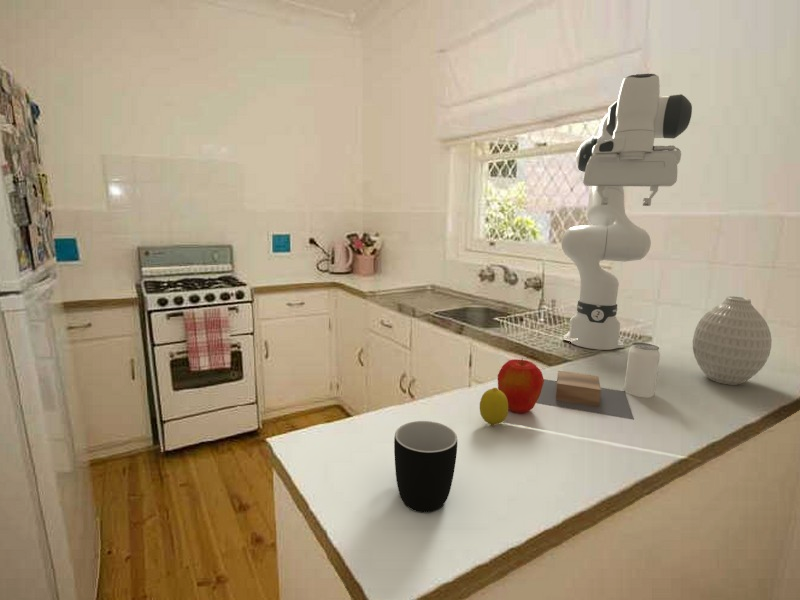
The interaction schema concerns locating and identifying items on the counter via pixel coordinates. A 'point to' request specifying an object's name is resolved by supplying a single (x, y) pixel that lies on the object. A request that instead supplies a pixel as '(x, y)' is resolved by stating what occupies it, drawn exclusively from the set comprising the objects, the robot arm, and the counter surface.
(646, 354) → the can
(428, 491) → the mug
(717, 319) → the vase
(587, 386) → the plinth
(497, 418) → the lemon
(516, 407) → the apple
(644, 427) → the counter surface
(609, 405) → the mat
